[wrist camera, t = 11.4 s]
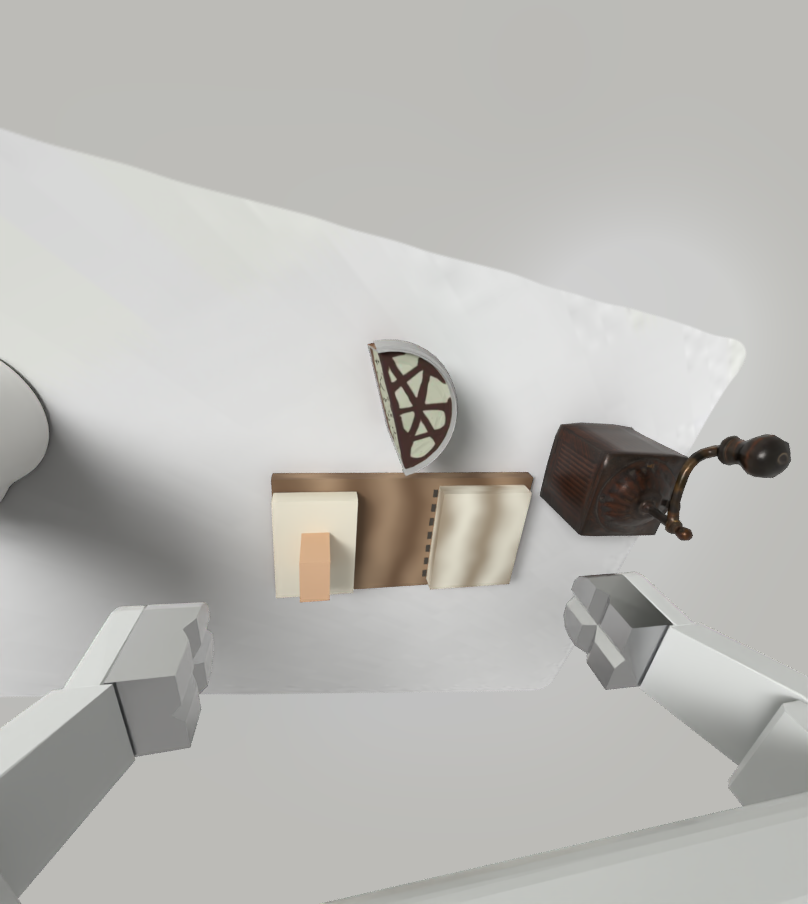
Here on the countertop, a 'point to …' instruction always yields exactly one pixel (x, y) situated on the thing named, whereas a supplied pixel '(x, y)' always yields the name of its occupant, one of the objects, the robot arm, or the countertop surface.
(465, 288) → the countertop surface
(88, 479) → the countertop surface
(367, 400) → the countertop surface
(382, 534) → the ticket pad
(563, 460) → the manual coffee grinder
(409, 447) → the food container
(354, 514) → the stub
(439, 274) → the countertop surface
